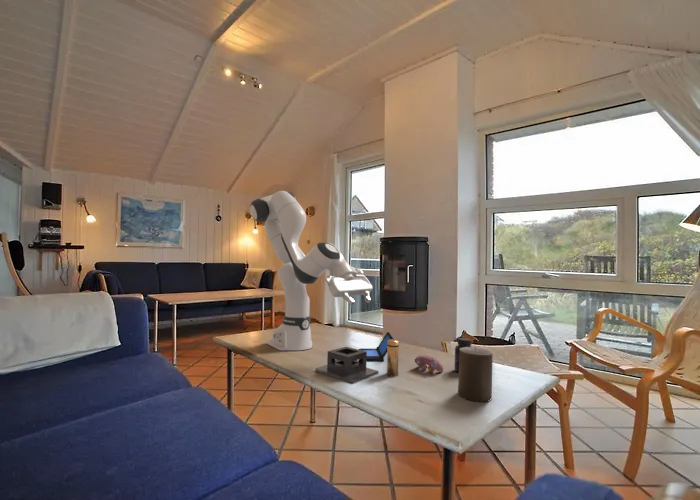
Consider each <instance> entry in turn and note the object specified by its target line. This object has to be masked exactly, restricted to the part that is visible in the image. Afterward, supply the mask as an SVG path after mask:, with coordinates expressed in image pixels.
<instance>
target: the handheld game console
mask: <svg viewBox="0 0 700 500" xmlns="http://www.w3.org/2000/svg"><path fill="white" fill-rule="evenodd" d="M390 339H394V338H393V336H392V335H391V333H390V332H389V331H386V333H385V335H384V337H383V338H382V340H381V341H380V343H379V344H378V346H377V347H376V348H362V347H361V348H358V350H362V351H366V352H367V361H366V362H381V363H382V362H384V360H385V357H386V356H387V344H388V340H390Z"/></svg>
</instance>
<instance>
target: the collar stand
mask: <svg viewBox="0 0 700 500" xmlns="http://www.w3.org/2000/svg"><path fill="white" fill-rule="evenodd" d="M326 360H327V364H324V365H321V366H318V367H315V372H317V373H320V374H323V375H326V376H328V377H332V378H335V379H338V380H341V381H343V382H346V383H350V384H351V385H352V384H357V383H358V382H361V381H363V380H366V379H369V378H371V377H373V376H377V375H379V370H376V369H373V368H369V367H367V362H368V361H367V352H366V351H362V350H359V348H358V349H357V348H353V347H350V346H343V347H339V348H336V349H335V348H334V349H332V350H328V351H327V358H326Z"/></svg>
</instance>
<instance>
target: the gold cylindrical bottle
mask: <svg viewBox="0 0 700 500" xmlns="http://www.w3.org/2000/svg"><path fill="white" fill-rule="evenodd" d="M399 346H400V342H399V340H398V339H395V338H393V339H390V340H388V344H387V353H386V375H387V376H388V377H398V376H399V350H400V347H399Z"/></svg>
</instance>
